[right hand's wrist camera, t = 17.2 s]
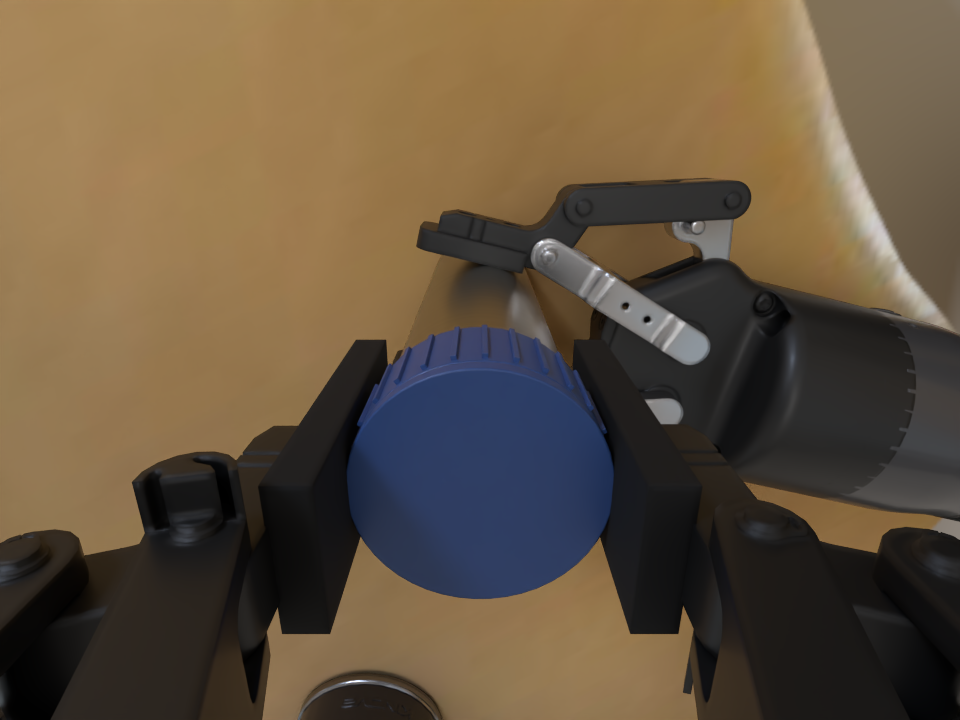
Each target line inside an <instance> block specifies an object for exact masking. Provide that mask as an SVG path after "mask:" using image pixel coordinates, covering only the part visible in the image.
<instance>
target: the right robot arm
mask: <svg viewBox="0 0 960 720" xmlns="http://www.w3.org/2000/svg"><path fill="white" fill-rule="evenodd" d="M387 366H388V362H387V346H386V340H356V341H355V342H354V344H353V345H352V347H351V348H350V350H349V351H348V353H347V354H346V356H345V357H344V359H343V360H342V362H341V363H340V365H339V366H338V368H337V369H336V371H335V372H334V374H333V375H332V377H331V378H330V380H329V381H328V383H327V384H326V385H325V387H324V388H323V390H322V391H321V393H320V394H319V396H318V397H317V399H316V400H315V402H314V403H313V405H312V406H311V408H310V409H309V411H308V412H307V414H306V415H305V417H304V418H303V420H302V421H301V423H300V424H299V426H273V427H272V428H270V429H268V430H267V431H265V432H263V433H262V434H260V435H259V436H257V437H255V438H254V439H253V440H252V442H251V443H250V444H249V445H248V447H247V448H246V449H245V450H244V452H243V455H240V457H239V458H238V459H237V460H235V459H233V458H232V457H231V456H230V455H228V454H223V453H219V452H194V453H189V454H184V455H179V456H175V457H172V458H170V459H167V460H164V461H161V462H159V463H157V464H155V465H153V466H151V467H150V468H148V469H146V470H144V471H143V472H141V473H140V474H139V476H138V477H137V478H136V479H135V480H134V481H133V482H132V484H133V488H134V492H135V496H136V500H137V504H138V508H139V512H140V515H141V519H142V523H143V527H144V531H145V534H144V536H143V538H142V540H141V542H140V544H138V545H134V546H130V547H125V548H120V549H115V550H110V551H105V552H100V553H95V554H90V555H85V556H84V553H83V550H82V547H81V544H80V540H79V538H78V537H76V536H75V535H74V534H73V533H71V532H69V531H62V530H46V531H36V532H30V533H25V534H23V535H18V536H15V537H12V538H9V539H7V540H5V541H4V542H2V543H0V720H262V716H263V709H264V701H265V694H266V686H267V678H268V671H269V663H270V649H269V642H268V636H267V630H268V628H269V625H270V623H271V621H272V619H273V616H274V614H275V612H276V610H277V608H278V612H279V618H280V624H281V630H282V634H330V632H331V629H332V626H333V623H334V620H335V616H336V613H337V610H338V607H339V604H340V600H341V597H342V594H343V591H344V588H345V585H346V581H347V578H348V575H349V572H350V569H351V565H352V562H353V559H354V556H355V553H356V549H357V546H358V543H359V540H360V537H361V536H360V534H359V533H358V531H357V529H356V526H355V524H354V522H353V520H352V517H351V513H350V505H349V495H348V485H347V473H346V471H347V464H348V459H349V455H350V452H351V449H352V444H353V442H354V440H355V437H356V435H357V433H358V430H359V428H360V427H359V426H357V423H358V421H359V419H360V417H361V414H362V412H363V410H364V408H365V406H366V403H367V401H368V399H369V397H370V395H371V393H372V390H373V388H374V386H375V384H377V385H379V384H380V382H381V379H382V377H383V375H384V373H385V370H386V368H387ZM574 370H577V372H578V373H579V375H580V378H581V380H582V382H583V384H584V387H585V389H586V391H589V393H590V395H591V398H592V400H593V402H594V404H595V406H596V408H597V411H598V413H599V415H600V417H601V419H602V422H603V424H604V426H605V428H606V430H607V433H606V434H604V437H605V439H606V442H607V445H608V447H609V450H610V452H611V456H612V460H613V465H614V479H613V490H612V500H611V509H610V516H609V519H608V521H607V524H606V526H605V529H604V530H603V532H602V534H601V535H600V538H601V542H602V545H603V548H604V551H605V554H606V558H607V561H608V564H609V567H610V570H611V574H612V577H613V580H614V583H615V586H616V589H617V593H618V596H619V599H620V602H621V605H622V609H623V612H624V615H625V618H626V621H627V625H628V628H629V631H630V634H678V633H679V627H680V621H681V615H682V609H683V606H684V608H685V610H686V613H687V615H688V617H689V619H690V621H691V624H692V626H693V628H694V630H693V636H692V642H691V647H690V653H689V659H688V664H687V670H686V676H685V682H684V689H683V693H687V694H691V690H692V685H694V692H695V700H696V708H697V715H698V720H960V540H959V539H957V538H956V537H954V536H951V535H948V534H945V533H942V532H941V533H938V531H934V530H930V529H920V528H911V527H903V528H896V529H890V530H889V531H888V532H887V533H885V534H884V535H883V536H882V539H881V542H880V546H879V549H878V552H877V553H873V552H868V551H863V550H858V549H853V548H848V547H843V546H838V545H833V544H829V543H825V542H821V541H819V539H818V537H817V535H816V533H815V532H814V530H813V529H812V528H811V527H810V526H809V524H808V523H807V522H806V521H805V520H804V519H802V518H801V517H799V516H798V515H796V514H795V513H793V512H792V511H790V510H788V509H785V508H783V507H781V506H778V505H776V504H773V503H770V502H765V501H761V500H757V498H756V497H755V496H754V495H753V493H752V492H751V491H750V490H749V488H748V487H747V486H746V485H745V483H744V482H743V481H742V480H741V478H740V477H739V476H738V475H737V473H736V472H735V471H734V470H733V468H732V467H731V466H730V465H728V464H727V463H728V462H727V461H726V460H725V459H724V457H723V456H722V455H721V454H720V453H718V450H717V449H716V447H715V446H714V445H713V444H712V442H711V441H710V440H709V439H708V437H707V436H705V435H704V434H702V433H700V432H699V431H697V430H695V429H694V428H692V427H691V426H689V425H687V424H661V423H660V422H659V420H658V419H657V418H656V416H655V415H654V413H653V412H652V410H651V409H650V407H649V406H648V404H647V403H646V401H645V400H644V398H643V397H642V395H641V394H640V392H639V391H638V389H637V388H636V386H635V385H634V383H633V382H632V380H631V379H630V377H629V376H628V374H627V373H626V371H625V370H624V368H623V367H622V365H621V364H620V362H619V361H618V360H617V358H616V357H615V355H614V354H613V352H612V351H611V349H610V348H609V346H608V345H607V343H606V342H605V340H574V353H573V369H572V371H574Z"/></svg>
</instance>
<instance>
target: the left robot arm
mask: <svg viewBox="0 0 960 720" xmlns="http://www.w3.org/2000/svg"><path fill="white" fill-rule="evenodd" d="M750 202H751V192H750V190H749V188H748V186H747V185H746V184H744V183H742V182H740V181H732V180H722V179H712V178H694V179H673V180H653V181H632V182H611V183H590V184H571V185H567V186H565V187H563V188H562V189H561V190H560V191H559V193H558V194H557V197H556V201H555V202H554V204H553V205H552V206H551V208H550V209H549V211H548V212H547V214H546V215H545V216H544V218H543V219H542V220H541V221H539V222H538V223H536V224H533V225H529V226H524V225H519V224H515V223H511V222H507V221H503V220H499V219H495V218H491V217H487V216H483V215H479V214H474V213H471V212H467V211H463V210H459V209H458V210H451V211H444V212H443V213H442V214H441V217H440V221H439V224H438V223H433V222H423V223H422V225H421V226H420V230H419V235H418V240H417V245H416V246H417V247H418V248H420V249H422V250H425V251H429V252H433V253H437V254H441V255H446V256H450V257H454V258H458V259H462V260H466V261H470V262H475V263H479V264H483V265H487V266H492V267H496V268H500V269H504V270H508V271H512V272H516V273H520V274H522V273H523V270H524V267H527V268H531V269H535V270H537V271H538V272H540V273H541V274H543V275H544V276H546V277H548V278H549V279H551V280H553V281H554V282H556V283H557V284H559V285H561V286H562V287H564V288H566V289H567V290H569V291H570V292H572V293H574V294H575V295H577V296H578V297H580V298H581V299H583V300H584V301H585V302H586V303H588V304H589V305H590V306H592V307H593V308H594V310H593V313H592V316H591V325H590V339H589V340H605V342H606V343H607V345H608V346H609V348H610V349H611V351H612V352H613V354H614V355H615V357H616V358H617V360H618V361H619V362H620V364H621V365H622V367H623V368H624V370H625V371H626V373H627V374H628V376H629V377H630V379H631V380H632V382H633V383H634V385H635V386H636V388H637V389H638V391H639V392H640V394H641V395H642V397H643V398H644V400H645V401H646V403H647V404H648V406H649V407H650V409H651V410H652V412H653V413H654V415H655V416H656V418H657V419H658V420H659V422H660V423H661V424H687V425H689V426H691V427H692V428H694V429H695V430H697V431H699V432H700V433H702V434H704V435H705V436H707V437H708V439H709V440H710V441H711V442H712V444H713V445H714V446H715V447H716V449H717V450H718V453H720V454H721V455H722V456H723V457H724V459H725V460H726V461H727V462H728V463H727V464H728V465H730V466H731V467H732V468H733V470H734V471H735V472H736V473H737V475H738V476H739V477H740V478H741V480H742V481H743V482H748V483H752V484H757V485H761V486H766V487H771V488H775V489H780V490H785V491H789V492H794V493H799V494H804V495H808V496H813V497H818V498H823V499H827V500H832V501H836V502H841V503H845V504H850V505H855V506H859V507H864V508H869V509H875V510H881V511H888V512H898V513H914V514H926V515H933V516H936V517H941V518H946V519H950V520H955V521H959V522H960V335H959V334H957V333H954V332H952V331H949V330H947V329H944V328H942V327H939V326H936V325H932V324H929V323H925V322H921V321H917V320H913V319H910V318H906V317H902V316H901V315H900V314H897V313H894V312H893V311H890V310H885V309H879V308H866V307H862V306H858V305H854V304H850V303H846V302H841V301H837V300H833V299H829V298H825V297H821V296H817V295H813V294H809V293H805V292H801V291H797V290H793V289H789V288H785V287H781V286H777V285H773V284H769V283H765V282H760V281H757V280H753V279H751V278H749V277H748V276H747V275H746V274H745V273H744V272H743V271H742V270H741V268H740V267H739V266H737V265H736V264H735V263H733V262H731V261H729V257H730V248H731V239H732V230H733V221H734V219H736V218H738V217H740V216H741V215H743V214H744V213H745V212H746V211H747V209H748V207H749V205H750ZM649 223H664V227H665V230H666V232H667V234H668V235H669V236H671V237H673V238H675V239H677V240H680V241H682V242H687V243H689V244H690V245H691V246H692V248H693V252H694V256H692V257H689V258H687V259H684V260H681V261H679V262H676V263H674V264H671V265H669V266H666V267H664V268H661V269H659V270H656V271H653V272H651V273H648V274H646V275H643V276H641V277H638V278H635V279H633V280H630V281H628V280H627V279H625V278H624V277H622V276H621V275H619V274H617V273H616V272H614V271H613V270H611V269H610V268H608V267H606V266H605V265H603V264H602V263H600V262H598V261H597V260H595V259H594V258H592V257H590V256H588V255H586V254H585V253H583V252H582V251H580V250H578V249H577V248H575V247H574V246H575V244H576V243H577V242H578V240H579V239H580V237H581V236H582V235H583V233H584V232H585V231H586V229H587V228H588V226H606V225H627V224H649ZM402 352H403V350H400V351H398V352H397V354H396V356H395V359H394V361H393V364H394V363H395V362H396V361H397V360H398V359H399V358H400V357H401V354H402ZM393 364H392V365H393ZM570 369H571V370H572V369H573V367H570ZM298 720H442V719H441V715H440V713H439V710H438V708H437V707H436V705H435V704H434V702H433V701H432V700H431V699H430V698H429V697H428V696H427V695H426V694H425V693H424V692H423V691H421V690H420V689H418V688H417V687H415V686H414V685H412V684H410V683H408V682H406V681H403V680H401V679H398V678H395V677H391V676H387V675H381V674H371V673H361V674H351V675H346V676H341V677H338V678H335V679H332V680H330V681H328V682H326V683H324V684H322V685H321V686H319V687H318V688H316V689H315V690H314V691H313V692H312V693H311V694H310V695H309V696H308V697H307V699H306V700H305V702H304V703H303V705H302V708H301V711H300V714H299V717H298Z"/></svg>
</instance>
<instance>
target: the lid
mask: <svg viewBox="0 0 960 720" xmlns="http://www.w3.org/2000/svg"><path fill="white" fill-rule="evenodd" d="M357 426H359V427H360V428H359V430H358V433H357V435H356V437H355V440H354V442H353V444H352V449H351V452H350V455H349V459H348V464H347V471H346V473H347V485H348V495H349V505H350V513H351V517H352V520H353V522H354V524H355V526H356V529H357V531H358V533H359V534H360V536H361V537H362V539H363V541H364V542H365V544H366V545H367V546H368V548H369V549H370V550H371V551H372V553H373V554H374V555H375V556H376V557H377V558H378V559H379V560H380V561H381V562H382V563H383V564H384V565H385V566H387V567H388V568H389V569H391V570H392V571H393V572H395V573H396V574H397V575H399V576H401V577H402V578H404V579H406V580H408V581H409V582H411V583H413V584H415V585H418V586H420V587H422V588H424V589H427V590H430V591H433V592H436V593H440V594H443V595H448V596H453V597H459V598H470V599H492V598H501V597H508V596H512V595H517V594H522V593H525V592H528V591H531V590H534V589H537V588H539V587H541V586H543V585H545V584H548V583H550V582H552V581H553V580H555V579H557V578H558V577H560V576H562V575H563V574H565V573H566V572H567V571H569V570H570V569H571V568H573V567H574V566H575V565H576V564H578V563H579V562H580V561H581V560H582V559H583V558H584V557H585V556H586V555H587V554H588V552H589V551H590V550H591V549H592V547H593V546H594V545H595V543H596V542H597V541H598V539H599V537H600V535H601V534H602V532H603V530H604V529H605V526H606V524H607V521H608V519H609V516H610V509H611V500H612V490H613V479H614V465H613V460H612V456H611V452H610V450H609V447H608V445H607V442H606V439H605V437H604V434H606V433H607V430H606V428H605V426H604V424H603V422H602V419H601V417H600V415H599V413H598V411H597V408H596V406H595V404H594V402H593V400H592V398H591V395H590V393H589V391H586V389H585V387H584V384H583V382H582V380H581V378H580V375H579V373H578V372H577V370H574V371H572V370H571V369H570V367H569V366H568V365H567V364H566V363H565V362H564V359H563V357H562V355H561V353H559V352H557V353H555V352H553V351H552V350H551V349H549V348H548V347H546V346H545V345H543V344H542V343H541V342H540V339H538V338H536V337H535V338H534V339H532V338H530V337H528V336H525V335H522V334H520V333H517V332H515V329H512V328H509V330H505V329H499V328H491V327H487V325H482V327H469V328H462V329H460V327H459V326H458V327H454V330H451V331H448V332H444V333H441V334H438V335H436V336H434V335H433V334H431V335H429V336H428V339H426V340H425V341H423V342H421V343H419V344H418V345H416V346H414V347H413V348H410V347H408V348H406V349H405V352H404V354H403V355H402V356H401V357H400V358H399V359H398V360H397V361H396V362H395V363H394V364H393V365H391V364H389V365H388V366H387V368H386V370H385V373H384V375H383V377H382V379H381V382H380V384H379V385H377V384H375V386H374V388H373V390H372V393H371V395H370V397H369V399H368V401H367V403H366V406H365V408H364V410H363V412H362V414H361V417H360V419H359V421H358V423H357Z"/></svg>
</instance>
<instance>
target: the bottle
mask: <svg viewBox="0 0 960 720" xmlns="http://www.w3.org/2000/svg"><path fill="white" fill-rule="evenodd" d="M482 325H487V327H491V328H499V329H505V330H509V328H512V329H515V332H517V333H520V334H522V335H525V336H528V337H530V338H532V339H534V338H535V337H536V338H538V339H540V342H541V343H542V344H543V345H545V346H546V347H548V348H549V349H551V350H552V351H553V352H555V353H557V352H558V350H557V348H556V345H555V343H554V340H553V338H552V335H551V332H550V330H549V327H548V325H547V322H546V320H545V317H544V315H543V312H542V310H541V307H540V305H539V302H538V300H537V297H536V295H535V292H534V290H533V287H532V285H531V282H530V280H529V277H528V275H527V272H526V270H525V267H524V270H523V273H522V274H520V273H516V272H512V271H508V270H504V269H500V268H496V267H492V266H487V265H483V264H479V263H475V262H470V261H466V260H462V259H458V258H454V257H450V256H446V255H442V256H441V258H440V260H439V262H438V264H437V266H436V268H435V271H434V273H433V276H432V279H431V281H430V284H429V286H428V289H427V291H426V294H425V296H424V299H423V301H422V304H421V306H420V309H419V311H418V314H417V316H416V319H415V321H414V324H413V326H412V329H411V331H410V334H409V337H408V339H407V342H406V344H405V347H404V349H403V352H402V354H401V356H402V355H403V354H404V352H405V349H406V348H408V347H410V348H413V347H414V346H416V345H418V344H419V343H421V342H423V341H425V340H426V339H428V336H429V335H431V334H433V335H434V336H436V335H438V334H441V333H444V332H448V331H451V330H454V327H458V326H459V327H460V329H462V328H469V327H482Z"/></svg>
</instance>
